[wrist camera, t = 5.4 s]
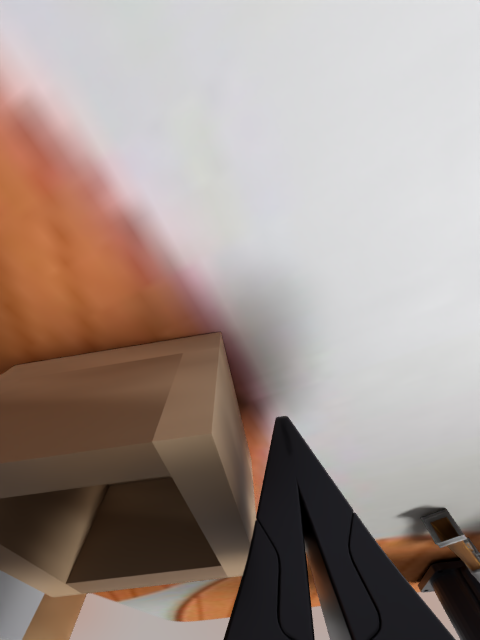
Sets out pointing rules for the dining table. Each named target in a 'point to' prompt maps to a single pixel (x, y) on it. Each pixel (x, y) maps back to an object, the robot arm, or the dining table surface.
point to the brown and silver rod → (453, 539)
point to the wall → (16, 606)
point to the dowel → (55, 618)
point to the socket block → (124, 469)
